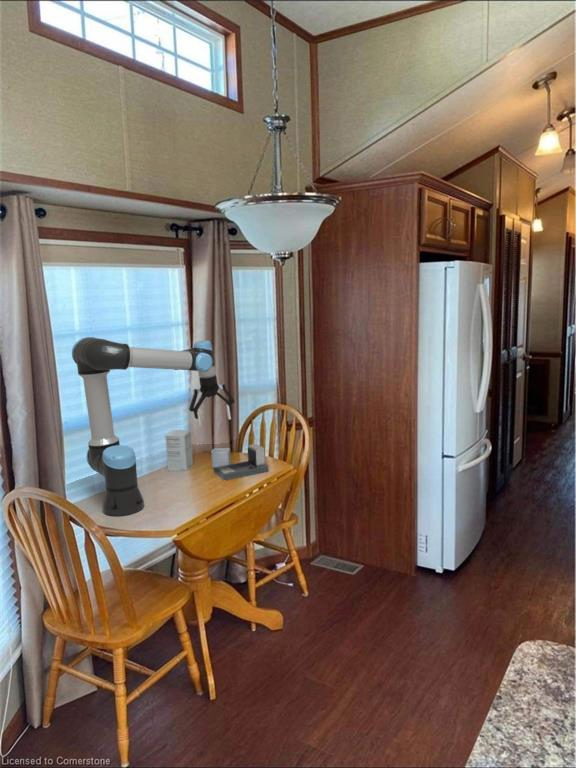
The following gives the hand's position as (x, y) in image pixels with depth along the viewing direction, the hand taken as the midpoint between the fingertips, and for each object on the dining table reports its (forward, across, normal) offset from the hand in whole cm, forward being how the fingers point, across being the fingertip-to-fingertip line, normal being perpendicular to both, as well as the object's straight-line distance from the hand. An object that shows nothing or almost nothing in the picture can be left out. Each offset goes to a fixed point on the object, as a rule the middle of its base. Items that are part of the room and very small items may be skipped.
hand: (214, 422), depth 253 cm
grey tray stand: (+23, -7, +9) cm, 25 cm away
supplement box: (+21, +17, -10) cm, 29 cm away
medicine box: (+23, 0, -2) cm, 23 cm away
